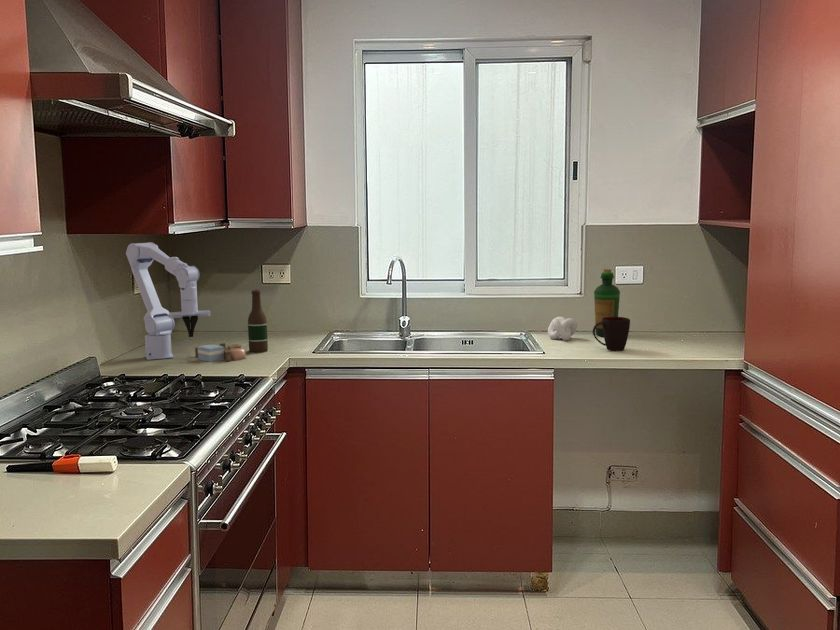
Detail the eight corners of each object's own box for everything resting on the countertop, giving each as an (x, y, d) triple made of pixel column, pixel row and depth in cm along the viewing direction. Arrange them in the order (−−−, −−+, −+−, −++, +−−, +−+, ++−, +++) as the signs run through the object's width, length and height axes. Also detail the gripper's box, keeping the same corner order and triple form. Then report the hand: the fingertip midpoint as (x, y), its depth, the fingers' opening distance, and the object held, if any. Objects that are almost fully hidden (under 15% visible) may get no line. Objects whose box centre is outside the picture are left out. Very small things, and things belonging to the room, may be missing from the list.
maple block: (231, 357, 304) (230, 346, 304) (227, 355, 308) (227, 345, 307) (241, 355, 306) (240, 345, 306) (237, 354, 310) (237, 344, 309)
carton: (209, 362, 295) (209, 348, 295) (198, 359, 301) (197, 346, 300) (224, 359, 300) (223, 346, 299) (212, 357, 305) (211, 344, 304)
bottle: (588, 335, 342) (589, 269, 338) (608, 333, 346) (609, 268, 342) (603, 338, 332) (605, 271, 328) (624, 336, 337) (626, 269, 333)
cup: (632, 351, 303) (633, 320, 302) (597, 353, 302) (597, 321, 300) (623, 347, 313) (623, 316, 311) (588, 348, 312) (589, 317, 310)
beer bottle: (264, 353, 311) (261, 291, 307) (245, 352, 312) (242, 291, 309) (271, 349, 318) (269, 289, 315) (253, 349, 320) (250, 289, 317)
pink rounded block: (230, 361, 297) (229, 351, 296) (227, 358, 302) (227, 349, 302) (246, 359, 299) (246, 350, 298) (244, 356, 305) (243, 347, 304)
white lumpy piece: (540, 339, 334) (540, 317, 333) (558, 335, 342) (558, 314, 341) (562, 342, 326) (562, 320, 324) (580, 338, 334) (580, 317, 332)
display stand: (199, 363, 292) (199, 352, 291) (195, 356, 306) (194, 345, 305) (231, 361, 295) (230, 349, 295) (225, 354, 310) (224, 342, 309)
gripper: (169, 302, 287) (171, 339, 289) (210, 299, 293) (212, 336, 294) (167, 299, 294) (169, 336, 296) (208, 297, 299) (210, 333, 301)
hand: (191, 336), depth 296 cm, fingers closed
